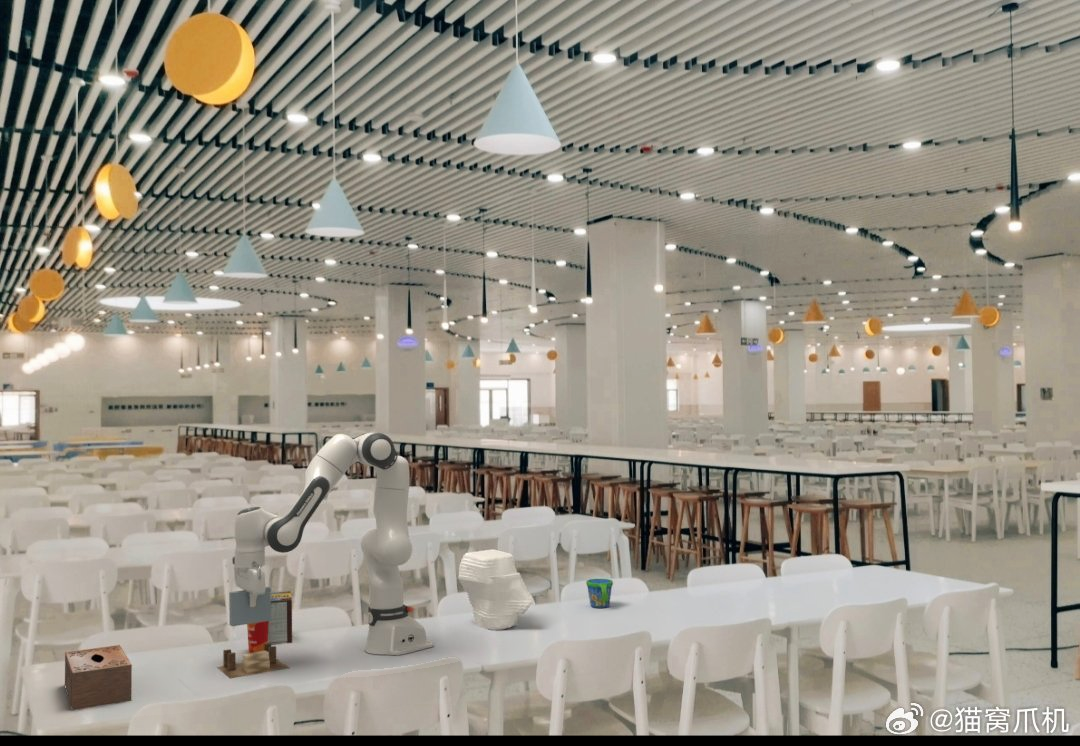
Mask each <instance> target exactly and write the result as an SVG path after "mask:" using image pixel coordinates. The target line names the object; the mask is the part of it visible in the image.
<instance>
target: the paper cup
mask: <svg viewBox="0 0 1080 746" xmlns="http://www.w3.org/2000/svg"><path fill="white" fill-rule="evenodd" d="M246 625H247V626H246V627H247V628H246V629H247V644H248V645H247V647H248V653H254V652H259V651H264V644H267V643H268V628H269V621H265V622H258V623H252V624H246Z"/></svg>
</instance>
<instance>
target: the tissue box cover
mask: <svg viewBox="0 0 1080 746" xmlns="http://www.w3.org/2000/svg"><path fill="white" fill-rule="evenodd" d="M132 670H133V664H132V663H131V661H130V659H129V658H128V656H127V655H126V653H125V651H124V650H123V648H122V646H121V645H120V644H118V645H117V644H116V645H110V646H102V647H96V648H87V649H80V650H71V651H65V652H64V687H65V686H66V688H65V691H66V690H67V692H66V694H67V693H68V695H67V698H68V697H69V698H68V701H69V704H70V707H72V708H71V711H76V709H77V710H82V709H89V708H95V707H100V706H107V705H113V704H119V703H125V702H131V701H132V694H133V693H132V690H133V689H132V682H133V681H132V677H133V676H132Z"/></svg>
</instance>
